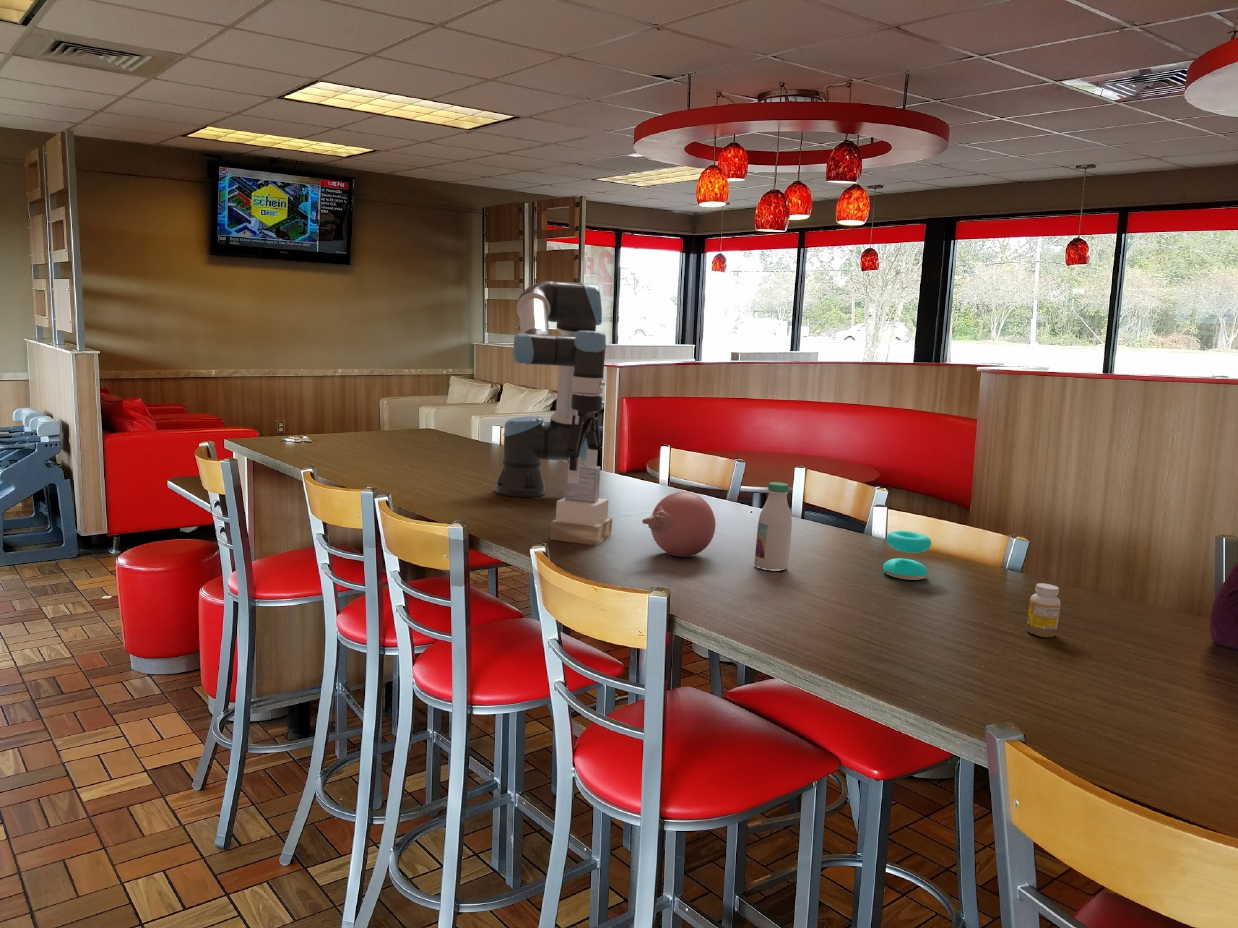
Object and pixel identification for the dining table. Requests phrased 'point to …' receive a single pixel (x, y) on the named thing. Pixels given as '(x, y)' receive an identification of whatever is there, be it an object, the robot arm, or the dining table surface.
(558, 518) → the off-white top block
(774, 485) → the milk bottle
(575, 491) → the medicine box
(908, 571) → the donuts
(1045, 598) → the supplement bottle
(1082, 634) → the dining table surface
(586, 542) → the birch base block
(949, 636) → the dining table surface
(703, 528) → the round balloon
